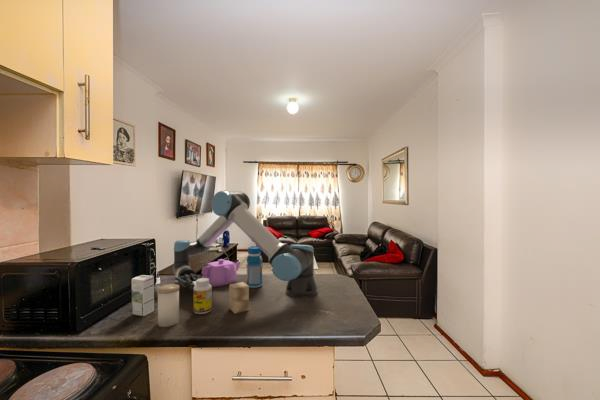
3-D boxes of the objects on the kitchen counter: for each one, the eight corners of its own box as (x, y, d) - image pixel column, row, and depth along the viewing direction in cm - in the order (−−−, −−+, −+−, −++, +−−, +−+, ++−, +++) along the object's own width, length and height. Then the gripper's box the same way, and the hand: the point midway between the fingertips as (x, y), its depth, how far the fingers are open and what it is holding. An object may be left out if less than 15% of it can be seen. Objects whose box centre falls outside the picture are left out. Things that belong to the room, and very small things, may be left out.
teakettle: (199, 286, 141) (199, 262, 141) (211, 277, 158) (211, 255, 158) (231, 287, 140) (232, 263, 140) (241, 277, 157) (241, 256, 157)
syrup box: (154, 311, 111) (154, 275, 111) (142, 317, 106) (142, 279, 106) (143, 309, 113) (143, 274, 113) (131, 315, 107) (130, 278, 107)
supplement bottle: (189, 312, 110) (189, 280, 110) (203, 306, 116) (203, 276, 116) (202, 316, 107) (201, 283, 106) (215, 309, 113) (215, 278, 113)
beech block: (243, 305, 118) (243, 281, 118) (248, 310, 113) (248, 285, 113) (229, 308, 114) (229, 284, 114) (234, 313, 109) (234, 288, 109)
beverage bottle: (251, 289, 138) (251, 249, 137) (243, 285, 144) (243, 247, 144) (265, 285, 143) (265, 247, 143) (256, 281, 150) (257, 245, 149)
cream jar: (183, 319, 104) (183, 284, 104) (170, 328, 97) (170, 291, 97) (166, 317, 106) (166, 283, 106) (152, 325, 99) (152, 289, 99)
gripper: (199, 280, 141) (213, 294, 121) (171, 284, 133) (181, 300, 114) (199, 265, 141) (213, 277, 121) (171, 269, 133) (181, 282, 114)
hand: (197, 288), depth 117 cm, fingers closed
